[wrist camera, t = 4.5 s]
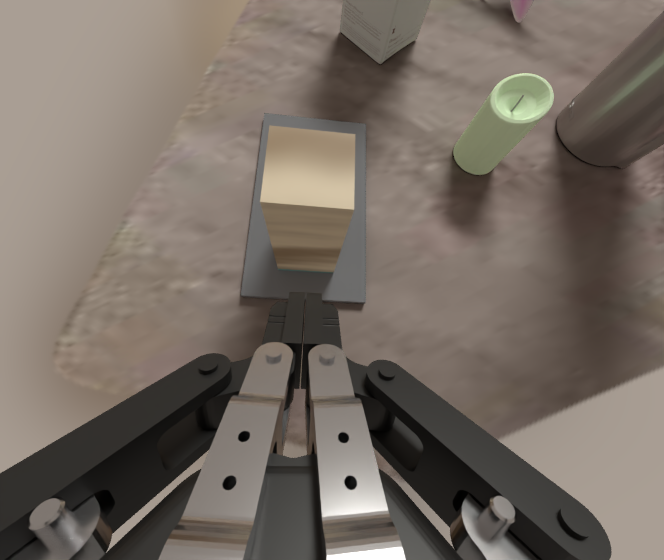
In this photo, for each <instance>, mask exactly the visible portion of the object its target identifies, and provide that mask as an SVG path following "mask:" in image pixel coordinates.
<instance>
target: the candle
mask: <svg viewBox="0 0 664 560" xmlns="http://www.w3.org/2000/svg"><path fill="white" fill-rule="evenodd" d="M553 98H554V94H553V90H552V87H551V86H550V84H549V83H548V82H547V81H546V80H545V79H544V78H542V77H540V76H538V75H534V74H530V73H521V74H516V75H512V76H510V77H507V78H505V79H504V80H502V81H501V82H499V83H498V84H497V85H496V87H495V88H494V89H493V90H492V92H491V93H490V95H489V96H488V98H487V99H486V101H485V102H484V104H483V105H482V106H481V108H480V109H479V111H478V112H477V114H476V115H475V117H474V118H473V120H472V121H471V122H470V124H469V125H468V127H467V128H466V130H465V131H464V133H463V134H462V136H461V137H460V138H459V140H458V141H457V143H456V144H455V146H454V149H453V155H454V159H455V161H456V163H457V164H458V165H459V166H460V167H461V168H462V169H463V170H465V171H466V172H468V173H471V174H475V175H483V174H487V173H489V172H490V171H492V170H493V169H494V168H495V166H496V165H497V164H498V163H499V162H500V161H501V160H502V159H503V158H504V157H505V156H506V155H507V154H508V153H509V152H510V151H511V150H512V149H513V148H514V147H515V146H516V145H517V144H518V143H519V142H520V141H521V140H522V138H523V137H524V136H525V135H526V134H527V133H528V132H529V131H530V130H531V129H532V128H533V127H534V126H535V125H536V124H537V123H538V122H539V121H540V120H541V119H542V118H543V117H544V116H545V115H546V113H547V112H548V111H549V110H550V108H551V106H552V104H553Z"/></svg>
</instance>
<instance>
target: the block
mask: <svg viewBox="0 0 664 560" xmlns="http://www.w3.org/2000/svg"><path fill="white" fill-rule="evenodd" d="M354 190H355V134H347V133H338V132H328V131H318V130H309V129H299V128H290V127H280V126H270V125H269V133H268V141H267V149H266V157H265V165H264V174H263V182H262V190H261V198H260V204H261V207H262V211H263V215H264V219H265V222H266V226H267V230H268V234H269V237H270V241H271V245H272V249H273V252H274V256H275V260H276V263H277V267H278V270H288V271H304V272H320V273H334V270H335V267H336V264H337V261H338V258H339V255H340V252H341V248H342V245H343V242H344V239H345V236H346V233H347V230H348V227H349V224H350V221H351V218H352V215H353V212H354Z"/></svg>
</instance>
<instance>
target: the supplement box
mask: <svg viewBox="0 0 664 560" xmlns="http://www.w3.org/2000/svg"><path fill="white" fill-rule="evenodd" d="M429 3H430V0H343V6H342V15H341V24H340V32H341V33H342V34H344V35H345V36H346V37H347V38H348V39H350V40H351V41H352V42H353V43H354V44H355V45H357V46H358V47H359V48H360V49H361V50H363V51H364V52H365V53H366V54H368V55H369V56H370V57H371V58H372V59H374V60H375V61H376V62H378V63H379V64H381V63H383V62H384V61H385V60H386V59H388V58H389V57H390V56H392V55H393V54H395V53H396V52H397V51H399V50H400V49H402V48H403V47H405V46H406V45H408V44H409V43H411V42H413V41H414V40H416V39H417V37H418V34H419V31H420V28H421V25H422V23H423V20H424V17H425V14H426V11H427V9H428V6H429Z"/></svg>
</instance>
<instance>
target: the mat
mask: <svg viewBox="0 0 664 560" xmlns="http://www.w3.org/2000/svg"><path fill="white" fill-rule="evenodd" d="M269 125H270V126H280V127H290V128H299V129H309V130H318V131H328V132H338V133H347V134H355V190H354V212H353V215H352V218H351V221H350V224H349V227H348V230H347V233H346V236H345V239H344V242H343V245H342V248H341V252H340V255H339V258H338V261H337V264H336V267H335V270H334V273H320V272H304V271H288V270H278V267H277V263H276V260H275V256H274V252H273V249H272V245H271V241H270V237H269V234H268V230H267V226H266V222H265V219H264V215H263V211H262V207H261V204H260V198H261V190H262V182H263V174H264V165H265V157H266V149H267V141H268V133H269ZM289 292H305V300H306V294H307V293H322V301H326V302H344V303H362V304H364V303H365V302H366V124H362V123H353V122H344V121H334V120H325V119H316V118H306V117H297V116H287V115H278V114H269V113H264V120H263V128H262V136H261V143H260V151H259V159H258V166H257V174H256V182H255V189H254V197H253V205H252V212H251V220H250V228H249V235H248V243H247V251H246V258H245V266H244V274H243V281H242V289H241V296H242V297H254V298H272V299H288V298H289Z"/></svg>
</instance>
